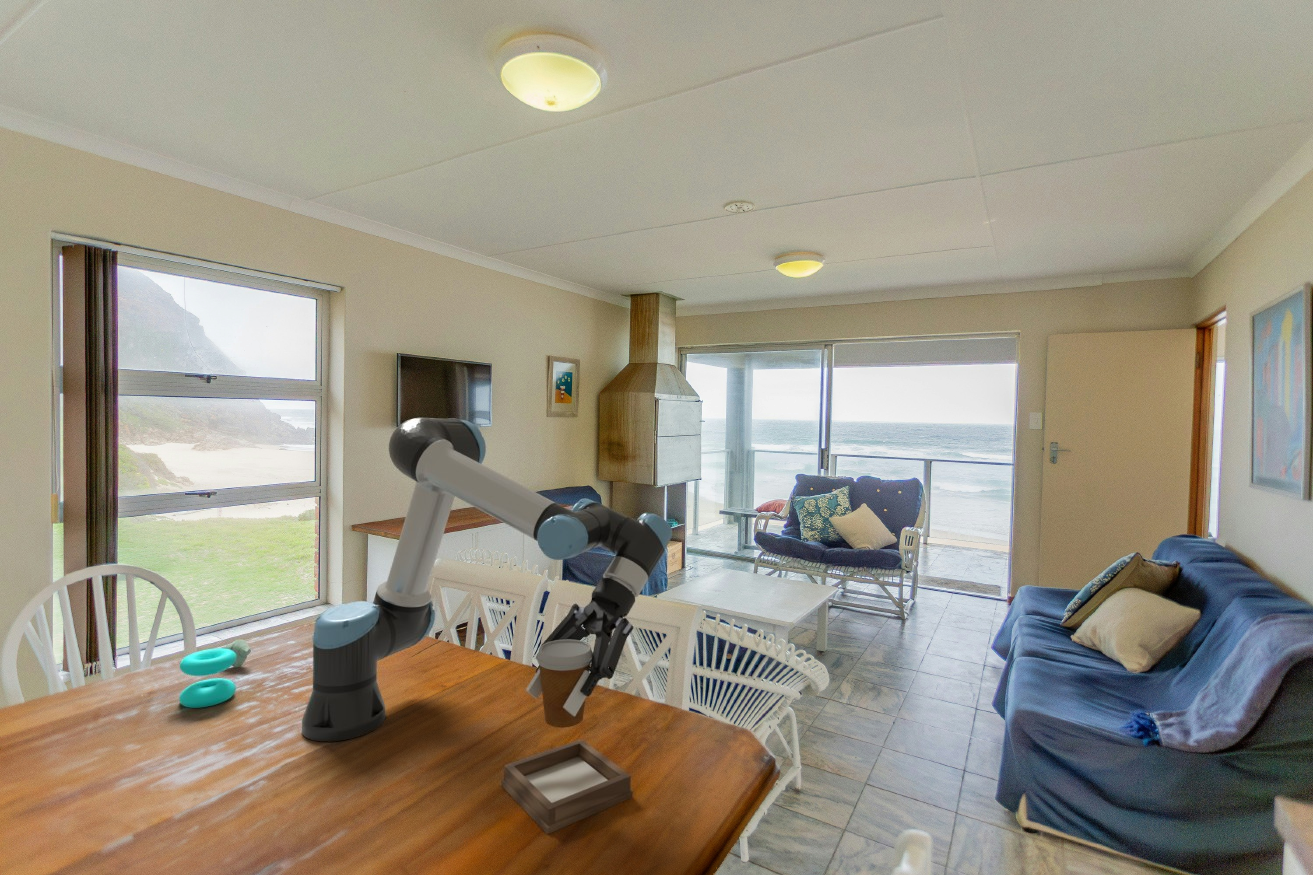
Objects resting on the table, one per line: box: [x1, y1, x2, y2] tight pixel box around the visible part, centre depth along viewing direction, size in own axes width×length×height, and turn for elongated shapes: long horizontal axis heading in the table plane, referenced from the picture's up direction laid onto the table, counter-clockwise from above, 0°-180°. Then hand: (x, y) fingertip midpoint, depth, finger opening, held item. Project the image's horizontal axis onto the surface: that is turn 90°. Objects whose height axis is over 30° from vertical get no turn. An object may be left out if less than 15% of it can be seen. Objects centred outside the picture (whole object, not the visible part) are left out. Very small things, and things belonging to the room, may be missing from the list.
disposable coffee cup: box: [535, 639, 593, 729], centre depth 104 cm, size 10×10×12 cm
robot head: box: [221, 638, 252, 669], centre depth 154 cm, size 8×4×7 cm, turn 76°
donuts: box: [178, 647, 236, 709], centre depth 136 cm, size 10×10×10 cm
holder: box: [500, 738, 634, 835], centre depth 105 cm, size 16×16×4 cm
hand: (549, 702), depth 102 cm, fingers closed on disposable coffee cup, 9 cm apart
